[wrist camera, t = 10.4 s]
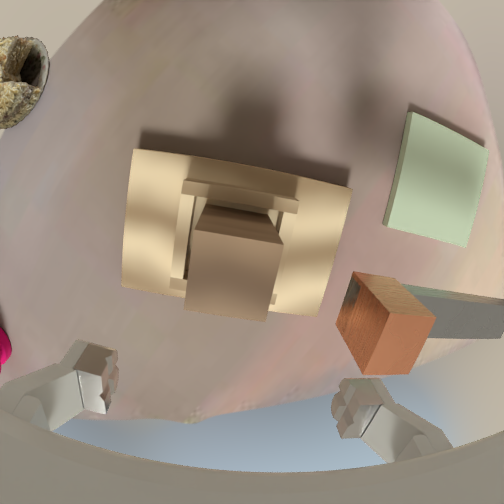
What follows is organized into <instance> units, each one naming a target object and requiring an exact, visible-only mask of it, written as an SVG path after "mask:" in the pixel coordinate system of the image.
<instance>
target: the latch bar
mask: <svg viewBox="0 0 504 504" xmlns="http://www.w3.org/2000/svg"><path fill="white" fill-rule="evenodd" d="M336 326H337V328H338V330H339V331H340V333H341V335H342V337H343V339H344V341H345V342H346V344H347V346H348V348H349V350H350V352H351V353H352V355H353V357H354V359H355V361H356V363H357V365H358V366H359V368H360V370H361V372H362V374H363V375H396V374H409V372H410V370H411V369H412V367H413V365H414V363H415V361H416V359H417V357H418V355H419V353H420V351H421V349H422V347H423V345H424V343H425V341H426V339H427V338H453V339H494V338H495V339H496V338H497V339H498V338H501V336H502V334H503V332H504V299H498V298H491V297H485V296H478V295H471V294H465V293H458V292H451V291H445V290H438V289H431V288H425V287H418V286H412V285H405V284H400V283H399V282H398V281H397V280H396V279H395V278H390V277H384V276H378V275H372V274H366V273H360V272H353V274H352V277H351V280H350V283H349V286H348V289H347V292H346V295H345V298H344V301H343V304H342V307H341V310H340V313H339V315H338V318H337V321H336Z"/></svg>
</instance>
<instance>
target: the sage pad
mask: <svg viewBox="0 0 504 504" xmlns="http://www.w3.org/2000/svg"><path fill="white" fill-rule="evenodd" d="M488 155H489V150H487V149H485V148H484V147H482V146H480V145H478V144H477V143H475V142H473V141H471V140H469V139H468V138H466V137H464V136H462V135H460V134H458V133H456V132H454V131H453V130H451V129H449V128H447V127H445V126H443V125H441V124H439V123H437V122H434V121H432V120H430V119H428V118H426V117H424V116H422V115H419V114H417V113H415V112H407V117H406V123H405V129H404V134H403V139H402V144H401V149H400V154H399V159H398V163H397V168H396V172H395V177H394V181H393V185H392V189H391V193H390V197H389V201H388V205H387V209H386V213H385V217H384V220H383V225H385V226H386V227H390V228H394V229H398V230H402V231H406V232H410V233H413V234H417V235H421V236H425V237H429V238H433V239H436V240H440V241H444V242H447V243H451V244H455V245H458V246H462V247H465V248H466V246H467V242H468V239H469V236H470V232H471V229H472V226H473V222H474V218H475V215H476V211H477V207H478V203H479V199H480V195H481V190H482V186H483V181H484V176H485V171H486V166H487V161H488Z"/></svg>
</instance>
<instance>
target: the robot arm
mask: <svg viewBox="0 0 504 504" xmlns="http://www.w3.org/2000/svg"><path fill="white" fill-rule="evenodd" d="M117 360H118V353H117V350H116V349H113V348H109V347H105V346H101V345H98V344H94V343H90V342H86V341H83V340H79V339H78V340H76V341H75V342H74V344H73V345H72V346H71V348H70V349H69V351H68V352H67V354H66V355H65V356H64V358H63V359H62V361H61V362H60V364H59V365H58V364H53V365H51V366H48V367H45V368H43V369H40V370H38V371H35V372H33V373H30V374H28V375H25V376H22V377H20V378H17V379H15V380H12V381H9V382H7V383H5V384H4V385H3V386H2V387H1V389H0V504H504V431H501V432H499V433H497V434H494V435H491V436H489V437H486V438H483V439H480V440H477V441H475V442H471V443H468V444H465V445H462V446H459V447H456V448H453V446H452V445H451V443H450V442H449V440H448V439H447V437H446V436H445V434H444V433H443V431H442V430H441V429H439V428H438V427H436V426H434V425H433V424H431V423H430V422H428V421H426V420H425V419H423V418H421V417H420V416H418V415H416V414H415V413H413V412H411V411H410V410H408V409H406V408H405V407H403V406H401V405H400V404H395V402H394V400H393V399H392V397H391V395H390V394H389V392H388V390H387V389H386V387H385V385H384V384H383V382H382V381H381V379H379V378H367V379H366V378H344V379H343V380H342V381H341V383H340V385H339V388H340V391H339V392H338V393H337V394H335V395H334V398H333V400H332V405H331V411H332V415H333V418H334V419H336V420H337V421H338V424H337V429H338V432H339V434H340V437H341V438H342V439H343V438H361V440H363V441H364V442H365V443H366V444H367V445H368V446H369V447H370V448H371V449H372V450H373V451H375V452H376V453H377V454H378V455H379V456H380V457H381V458H382V459H383V460H385V462H387V464H381V465H374V466H368V467H360V468H352V469H342V470H331V471H316V472H292V473H291V472H290V473H289V472H287V473H271V472H270V473H269V472H268V473H267V472H241V471H227V470H216V469H206V468H198V467H189V466H183V465H176V464H170V463H164V462H159V461H153V460H149V459H144V458H139V457H135V456H130V455H126V454H122V453H118V452H114V451H110V450H107V449H103V448H100V447H96V446H93V445H90V444H86V443H83V442H80V441H77V440H74V439H71V438H68V437H65V436H63V435H59V434H57V433H54V432H52V431H53V430H55V429H56V428H58V427H59V426H61V425H62V424H64V423H65V422H67V421H68V420H70V419H71V418H73V417H74V416H76V415H77V414H78V413H80V412H81V411H83V410H84V409H87V410H91V411H94V412H98V413H102V414H107V411H108V409H109V406H110V404H111V395H112V394H114V393H115V391H116V388H117V384H118V378H119V369H118V367H117V366H116V365H115V364H116V362H117Z"/></svg>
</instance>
